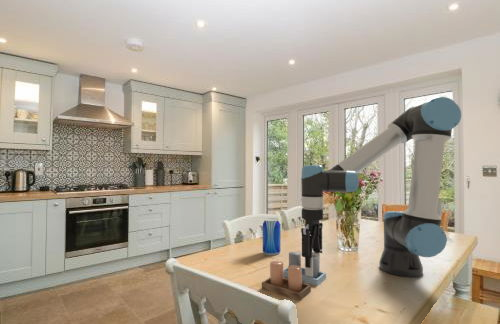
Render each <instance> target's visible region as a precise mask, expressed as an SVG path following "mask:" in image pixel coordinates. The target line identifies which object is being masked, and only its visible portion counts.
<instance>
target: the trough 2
mask: <svg viewBox="0 0 500 324" xmlns="http://www.w3.org/2000/svg"><path fill="white" fill-rule="evenodd" d="M301 267H302V283H304V284H308V285H311V286H316V287H318V286H319V285H321V283H323V282H324V281H326V280H327V272H325V271H324V272H323V271H320V272H318V278H317V279H315V278H311V277H307V276H305V267H303V266H301ZM283 278H286V279H288V266H287V267H285V268H283Z"/></svg>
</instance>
